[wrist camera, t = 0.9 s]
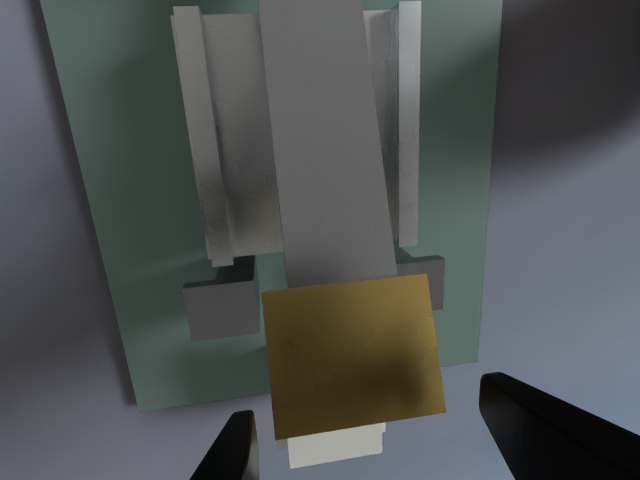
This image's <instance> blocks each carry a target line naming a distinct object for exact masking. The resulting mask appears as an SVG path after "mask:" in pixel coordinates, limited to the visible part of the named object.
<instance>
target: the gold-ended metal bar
mask: <svg viewBox="0 0 640 480" xmlns="http://www.w3.org/2000/svg"><path fill="white" fill-rule="evenodd" d="M257 2H258V11H259V21H260V31H261V40H262V50H263V59H264V69H265V79H266V88H267V98H268V107H269V117H270V127H271V136H272V146H273V155H274V165H275V175H276V184H277V194H278V204H279V213H280V223H281V232H282V242H283V252H284V261H285V271H286V280H287V289H280V290H271V291H263V292H261V297H262V307H263V317H264V327H265V338H266V348H267V358H268V368H269V378H270V389H271V399H272V409H273V419H274V429H275V440H282V439H288V438H294V437H300V436H306V435H312V434H318V433H324V432H330V431H336V430H342V429H348V428H354V427H360V426H366V425H372V424H378V423H384V422H390V421H396V420H402V419H408V418H414V417H420V416H426V415H432V414H438V413H444V412H446V409H445V402H444V394H443V387H442V380H441V372H440V365H439V358H438V350H437V343H436V336H435V328H434V321H433V314H432V307H431V299H430V292H429V285H428V277H427V273H425V274H408V275H400V276H397V268H396V260H395V252H394V245H393V237H392V229H391V222H390V214H389V206H388V199H387V191H386V183H385V175H384V168H383V160H382V152H381V145H380V137H379V129H378V122H377V114H376V106H375V98H374V91H373V83H372V75H371V68H370V60H369V52H368V45H367V37H366V29H365V21H364V14H363V6H362V0H257Z"/></svg>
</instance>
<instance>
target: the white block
mask: <svg viewBox="0 0 640 480" xmlns="http://www.w3.org/2000/svg"><path fill="white" fill-rule="evenodd" d="M382 432H385V422H384V423H378V424H372V425H366V426H360V427H354V428H348V429H342V430H336V431H330V432H324V433H318V434H312V435H306V436H300V437H294V438H288V439H282V440H276V442H277V450H280V449H285V448H288V451H289V460H290V469H292V468H298V467H304V466H309V465H315V464H321V463H326V462H332V461H338V460H343V459H349V458H355V457H360V456H366V455H372V454H377V453H382Z"/></svg>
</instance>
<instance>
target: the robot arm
mask: <svg viewBox="0 0 640 480" xmlns="http://www.w3.org/2000/svg"><path fill="white" fill-rule="evenodd" d="M479 409H480V413H481V415H482V417H483V419H484V421H485V423H486V425H487V427H488V429H489V431H490V433H491V435H492V437H493V438H494V440H495V442H496V444H497V446H498V448H499V450H500V452H501V454H502V456H503V458H504V460H505V462H506V463H507V465H508V467H509V469H510V471H511V473H512V475H513V477H514V478H515V480H640V436H639V435H637V434H635V433H633V432H631V431H628V430H626V429H624V428H622V427H620V426H618V425H615V424H613V423H611V422H609V421H607V420H604V419H602V418H600V417H598V416H596V415H594V414H591V413H589V412H587V411H585V410H583V409H580V408H578V407H576V406H574V405H572V404H570V403H567V402H565V401H563V400H561V399H559V398H556V397H554V396H552V395H550V394H548V393H546V392H543V391H541V390H539V389H537V388H535V387H532V386H530V385H528V384H526V383H524V382H522V381H519V380H517V379H515V378H513V377H511V376H509V375H506V374H504V373H502V372H493V373H487V374H484V375H482V377H481V381H480V394H479ZM190 480H259V452H258V440H257V432H256V425H255V417H254V412H253V411H252V410H245V411H238V412H234V413H233V414H232V415H231V417H230V418H229V420H228V421H227V423H226V424H225V426H224V428H223V429H222V431H221V432H220V434H219V435H218V437H217V438H216V440H215V441H214V443H213V444H212V446H211V447H210V449H209V450H208V452H207V454H206V455H205V457H204V458H203V460H202V461H201V463H200V464H199V466H198V467H197V469H196V470H195V472H194V473H193V475H192V477H191V478H190Z"/></svg>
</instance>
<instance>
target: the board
mask: <svg viewBox="0 0 640 480" xmlns="http://www.w3.org/2000/svg"><path fill="white" fill-rule="evenodd" d="M399 1H421V39H420V108H419V178H418V245H415V246H406V247H401V248H402V249H404V250H405V251H406V252H407V253H408V254H410V255H411V256H412V257H413V258H414V257H423V256H432V255H440V256H441V257H443V258H444V259H445V275H444V302H443V309H441V310H434V311H432V314H433V321H434V328H435V336H436V343H437V350H438V358H439V365H440V367H445V366H452V365H458V364H465V363H471V362H478V350H479V336H480V321H481V307H482V292H483V278H484V263H485V249H486V235H487V220H488V206H489V191H490V177H491V162H492V148H493V133H494V119H495V105H496V90H497V76H498V61H499V47H500V32H501V18H502V3H503V0H362V6H363V11H368V10H390V9H391V8H392V7H394V6H395V5H396V4H397V3H398V2H399ZM40 3H41V7H42V11H43V15H44V20H45V24H46V28H47V32H48V36H49V40H50V45H51V49H52V53H53V57H54V61H55V65H56V69H57V74H58V78H59V82H60V86H61V90H62V94H63V98H64V103H65V107H66V111H67V115H68V119H69V123H70V127H71V132H72V136H73V140H74V144H75V148H76V152H77V156H78V161H79V165H80V169H81V173H82V177H83V181H84V186H85V190H86V194H87V198H88V202H89V206H90V210H91V215H92V219H93V223H94V227H95V231H96V235H97V239H98V244H99V248H100V252H101V256H102V260H103V264H104V268H105V273H106V277H107V281H108V285H109V289H110V293H111V297H112V302H113V306H114V310H115V314H116V318H117V322H118V326H119V331H120V335H121V339H122V343H123V347H124V351H125V356H126V360H127V364H128V368H129V372H130V376H131V380H132V385H133V389H134V393H135V397H136V401H137V405H138V409H139V412H145V411H152V410H158V409H165V408H172V407H178V406H185V405H192V404H198V403H205V402H212V401H218V400H225V399H232V398H238V397H245V396H252V395H258V394H265V393H271V389H270V378H269V368H268V358H267V348H266V338H265V327H264V317H263V307H262V297H261V292H263V291H271V290H280V289H287V280H286V271H285V261H284V252H276V253H267V254H257V255H256V262H257V270H258V279H259V287H260V333H257V334H249V335H241V336H234V337H226V338H218V339H211V340H203V341H195V342H192V340H191V335H190V329H189V324H188V318H187V313H186V307H185V302H184V296H183V290H182V288H183V286H184V284H185V283H189V282H198V281H207V280H215V278H216V274H217V271H218V268H219V267H212V260H211V259H209V260H208V256H207V249H206V243H205V236H204V230H203V223H202V217H201V211H200V204H199V198H198V191H197V185H196V178H195V172H194V166H193V159H192V153H191V146H190V140H189V133H188V127H187V120H186V114H185V108H184V101H183V95H182V88H181V82H180V75H179V69H178V63H177V56H176V50H175V43H174V37H173V30H172V24H171V17H170V16H173V15H174V11H173V7H174V6H199V8H200V10H201V12H202V14H203V15H212V14H251V13H259V11H258V2H257V0H40Z"/></svg>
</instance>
